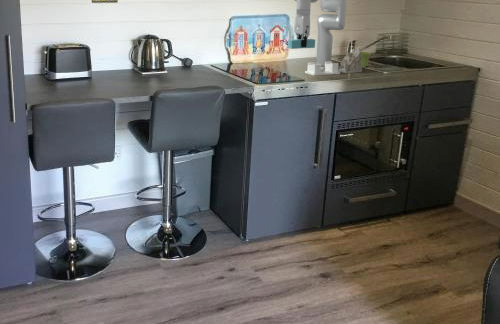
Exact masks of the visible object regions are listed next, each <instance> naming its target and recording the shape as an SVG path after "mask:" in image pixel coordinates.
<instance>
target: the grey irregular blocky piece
mask: <svg viewBox="0 0 500 324" xmlns="http://www.w3.org/2000/svg"><path fill="white" fill-rule="evenodd" d="M361 52H362V51H361V46H359V47H358V48H357V49H355V48H353V49H352V50H351V52H347V53H346V55H345V56H344V58H343V59H342V60H341V62H340V67H339V68H338V72H340V73H344V74H348V73H349V74H356V73H362V72H363V67H361V66H362V62H361V60H362V55H361Z"/></svg>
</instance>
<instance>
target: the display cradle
mask: <svg viewBox="0 0 500 324" xmlns="http://www.w3.org/2000/svg"><path fill="white" fill-rule="evenodd" d="M314 62H315V61H313V62H307V70H305V71H304V73H305V74H307V75H311V76H328V75H340V74H341V72H339V71H338V70H339V63H338V62H337V63H335V62H332V60H331V61H330V62H325V66H321V64H316V65H315V64H314ZM332 63H333V64H332Z"/></svg>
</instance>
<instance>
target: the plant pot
mask: <svg viewBox="0 0 500 324" xmlns="http://www.w3.org/2000/svg"><path fill="white" fill-rule="evenodd" d="M371 54H372V53H371V52H366V51H361V55H362V60H361V62H362V66H361V67H362V68H367V67H368V63H369V59H370V56H371ZM366 66H367V67H366Z"/></svg>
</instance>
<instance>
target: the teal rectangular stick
mask: <svg viewBox="0 0 500 324" xmlns="http://www.w3.org/2000/svg"><path fill="white" fill-rule="evenodd" d="M301 40H302V38H301V39H297V38H296V39H295V38H294V39H288V40H287V41H288V42H287V48H288V49H291V50H296V49H313V48H316V39H314V38H307V46H306V47H301Z"/></svg>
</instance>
